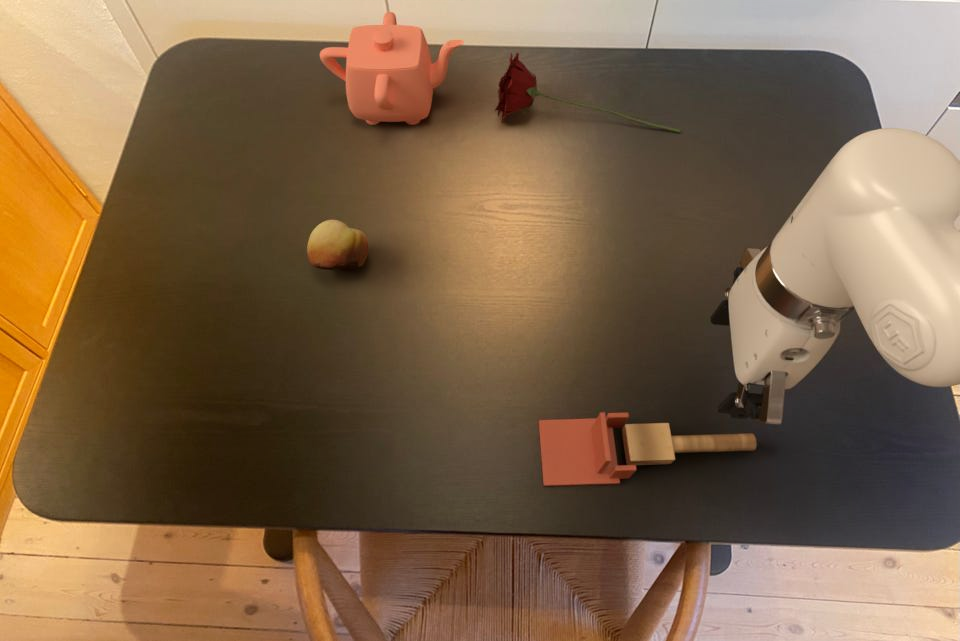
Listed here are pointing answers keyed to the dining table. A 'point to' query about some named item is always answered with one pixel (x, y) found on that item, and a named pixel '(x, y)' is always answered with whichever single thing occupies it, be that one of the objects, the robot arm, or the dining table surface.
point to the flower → (534, 93)
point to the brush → (675, 443)
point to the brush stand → (582, 451)
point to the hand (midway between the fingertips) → (729, 365)
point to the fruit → (337, 246)
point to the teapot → (389, 71)
